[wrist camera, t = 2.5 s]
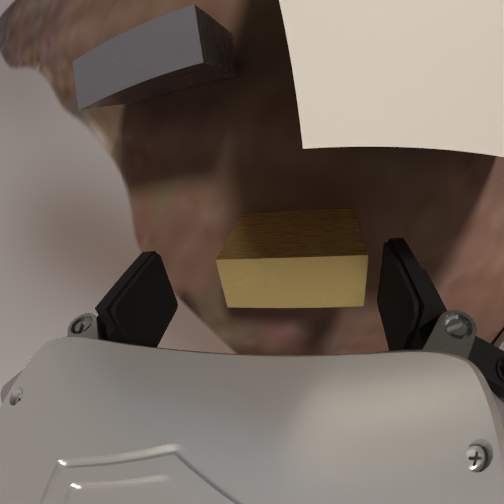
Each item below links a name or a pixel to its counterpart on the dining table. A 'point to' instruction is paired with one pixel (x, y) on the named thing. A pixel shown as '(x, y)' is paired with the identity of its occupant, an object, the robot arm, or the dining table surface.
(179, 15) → the block
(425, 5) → the cream slotted box
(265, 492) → the robot arm
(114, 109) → the dining table surface
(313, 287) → the block
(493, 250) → the dining table surface
